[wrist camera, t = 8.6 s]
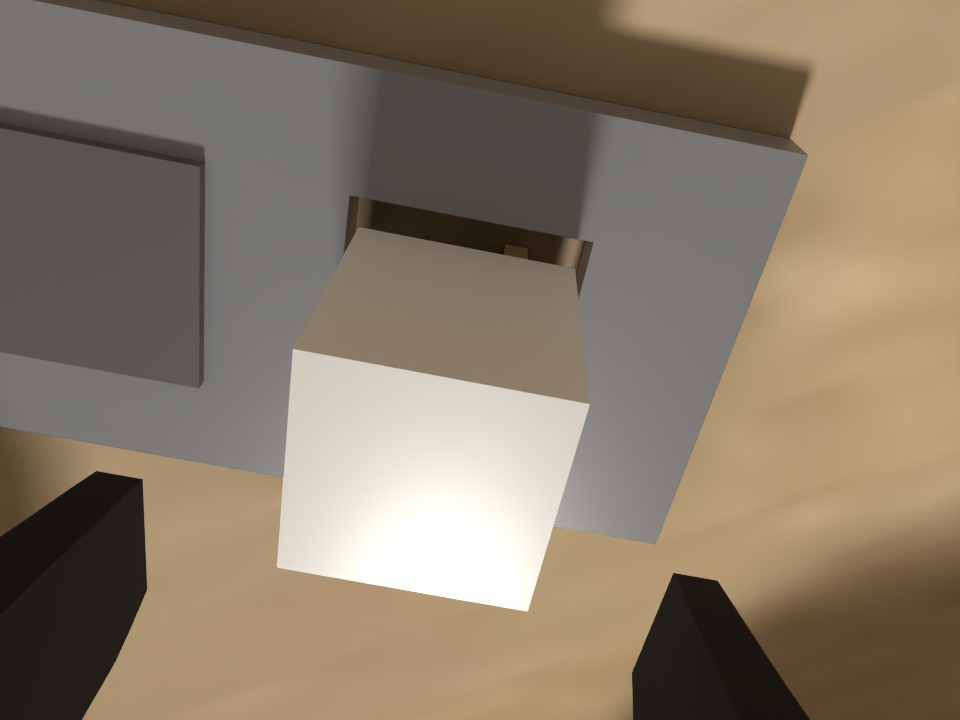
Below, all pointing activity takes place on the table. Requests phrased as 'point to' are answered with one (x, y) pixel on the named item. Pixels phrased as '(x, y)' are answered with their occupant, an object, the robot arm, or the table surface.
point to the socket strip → (342, 234)
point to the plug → (433, 419)
